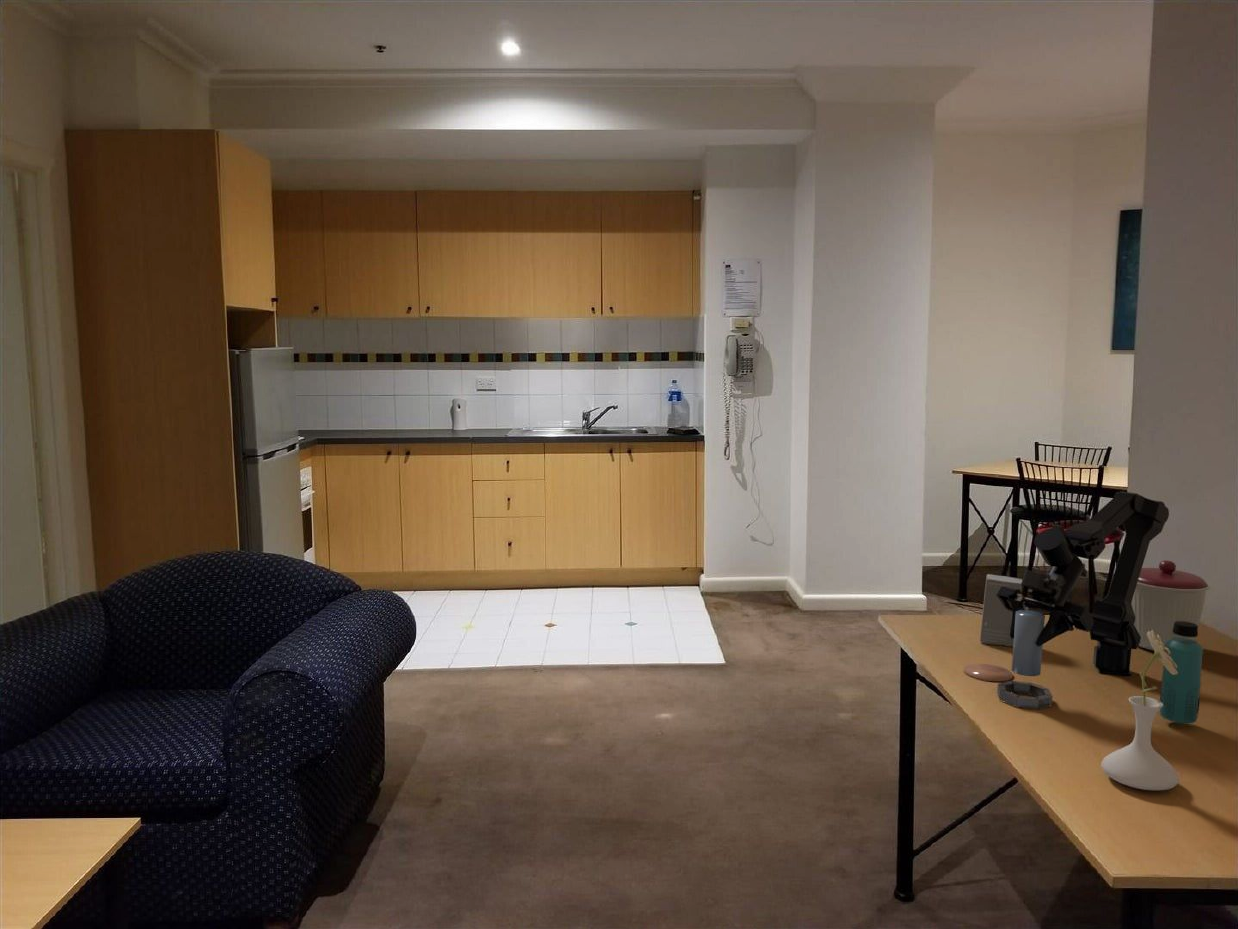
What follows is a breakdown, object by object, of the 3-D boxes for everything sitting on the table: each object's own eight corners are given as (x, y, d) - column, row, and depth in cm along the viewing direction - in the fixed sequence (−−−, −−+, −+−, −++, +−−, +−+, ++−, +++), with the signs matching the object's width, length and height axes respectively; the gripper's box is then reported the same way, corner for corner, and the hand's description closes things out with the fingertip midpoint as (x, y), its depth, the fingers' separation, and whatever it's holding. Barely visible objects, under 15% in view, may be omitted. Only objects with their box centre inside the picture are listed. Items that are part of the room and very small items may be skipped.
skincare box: (979, 643, 231) (984, 579, 229) (980, 635, 238) (985, 572, 236) (1018, 648, 228) (1022, 583, 226) (1017, 639, 235) (1022, 576, 233)
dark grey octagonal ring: (1046, 693, 199) (1046, 684, 199) (1054, 711, 190) (1054, 701, 189) (995, 688, 202) (996, 679, 201) (1000, 705, 192) (1001, 695, 192)
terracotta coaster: (1009, 668, 214) (1009, 666, 214) (1015, 684, 204) (1015, 681, 204) (961, 664, 217) (961, 661, 217) (965, 679, 207) (965, 676, 207)
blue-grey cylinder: (1038, 668, 197) (1042, 611, 195) (1042, 677, 192) (1046, 619, 190) (1010, 665, 198) (1014, 609, 197) (1013, 674, 193) (1017, 616, 192)
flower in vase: (1176, 804, 152) (1191, 651, 149) (1096, 786, 158) (1109, 638, 155) (1179, 773, 163) (1194, 630, 160) (1104, 757, 169) (1117, 618, 166)
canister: (1206, 644, 234) (1214, 559, 231) (1201, 664, 219) (1210, 574, 216) (1122, 630, 244) (1130, 548, 241) (1112, 649, 229) (1120, 562, 226)
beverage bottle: (1202, 733, 180) (1213, 629, 178) (1163, 729, 182) (1173, 626, 179) (1189, 719, 187) (1199, 619, 184) (1152, 716, 188) (1161, 616, 185)
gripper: (1004, 547, 202) (968, 606, 197) (1090, 565, 186) (1053, 630, 182) (1024, 579, 207) (989, 637, 203) (1109, 599, 192) (1073, 663, 187)
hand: (1024, 641), depth 193 cm, fingers closed on blue-grey cylinder, 5 cm apart
